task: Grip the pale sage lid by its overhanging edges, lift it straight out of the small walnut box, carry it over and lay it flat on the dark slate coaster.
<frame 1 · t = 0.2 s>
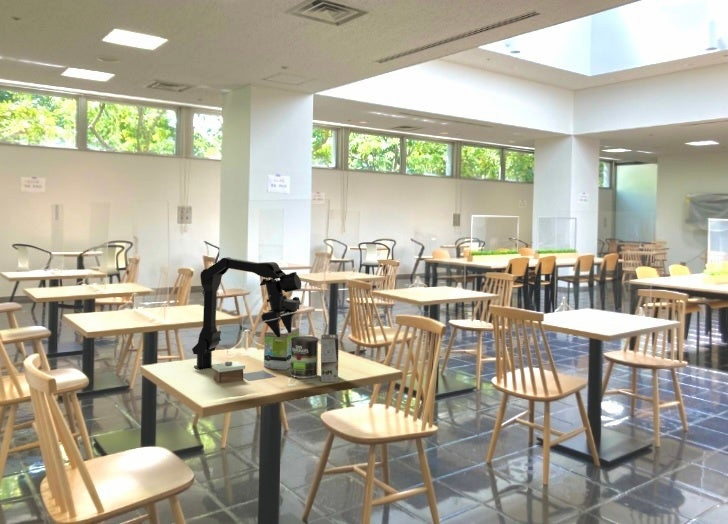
hand: (284, 334, 225), 15 cm above the table, tool pointing down, fingers open, 9 cm apart
coffee can: (304, 375, 226), on the table
box: (228, 381, 215), on the table
coffee box: (329, 379, 221), on the table
tea box: (281, 365, 242), on the table
lid: (228, 371, 215), point 4 cm above the table, touching box
coaster: (256, 377, 222), on the table
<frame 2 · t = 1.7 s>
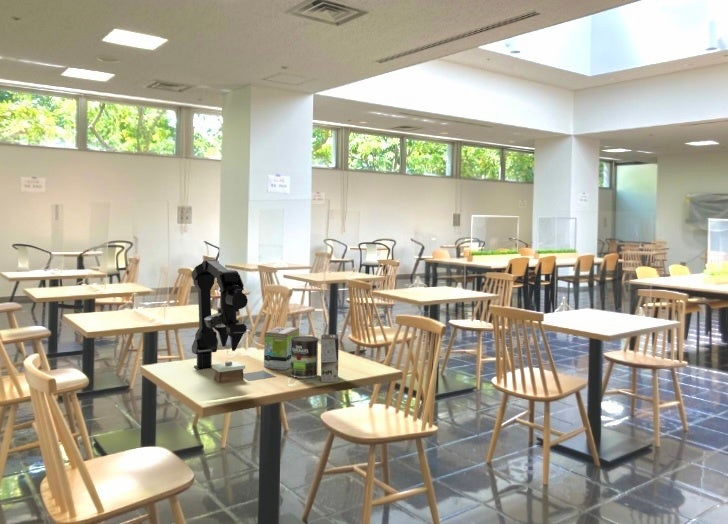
hand: (228, 348, 215), 12 cm above the table, tool pointing down, fingers open, 9 cm apart
nothing on the table moved.
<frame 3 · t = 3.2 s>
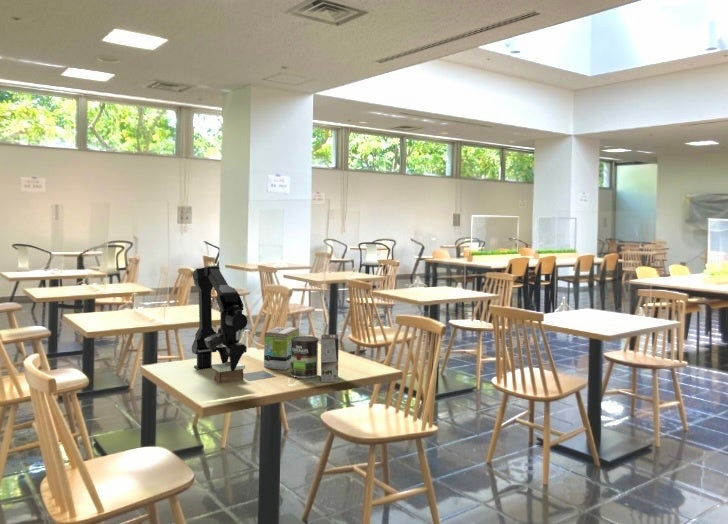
hand: (228, 368, 215), 5 cm above the table, tool pointing down, fingers closed on lid, 7 cm apart
lid: (228, 371, 215), point 4 cm above the table, touching box, gripper
everything else where it was.
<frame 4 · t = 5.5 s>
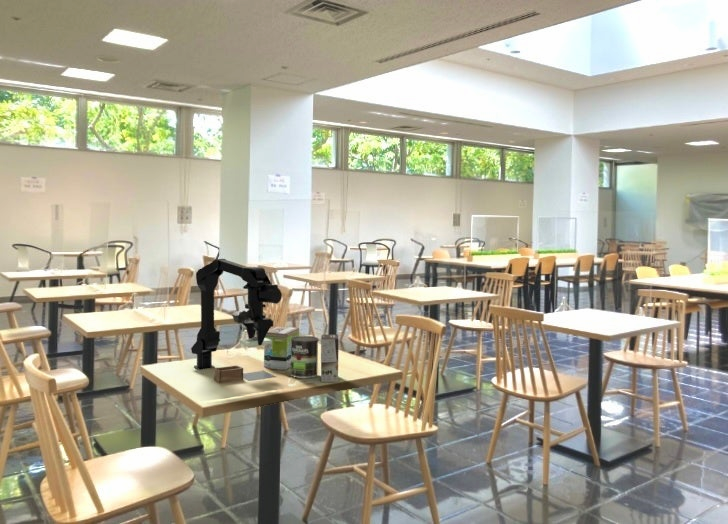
hand: (255, 343, 220), 13 cm above the table, tool pointing down, fingers closed on lid, 7 cm apart
lid: (255, 345, 220), point 12 cm above the table, touching gripper
everything else where it was.
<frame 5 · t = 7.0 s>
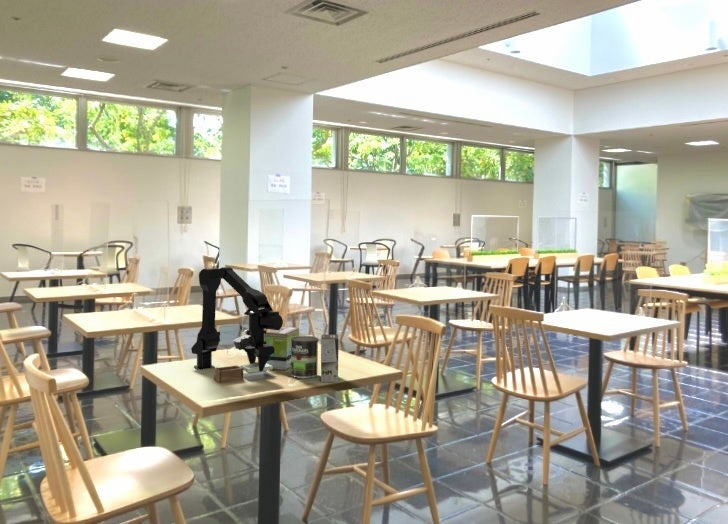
hand: (256, 369, 221), 3 cm above the table, tool pointing down, fingers closed on lid, 7 cm apart
lid: (256, 371, 221), point 2 cm above the table, touching gripper
everything else where it was.
when the fingers open (3 cm above the table, at t = 8.1 s): lid stays where it is, resting on coaster.
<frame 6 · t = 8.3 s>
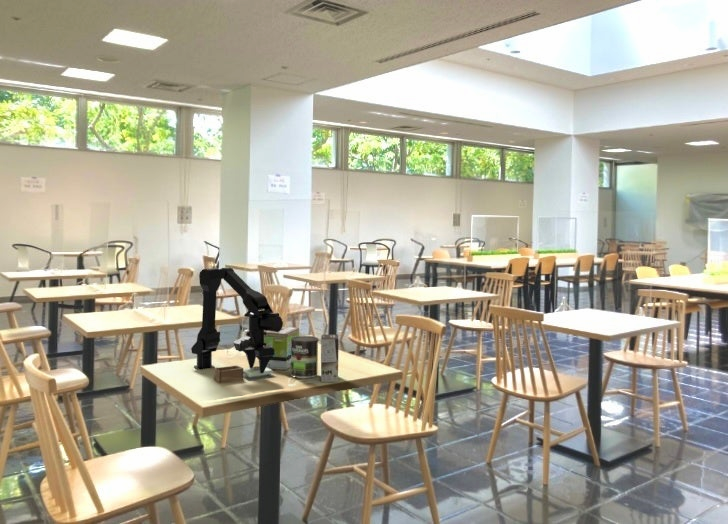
hand: (256, 370, 221), 3 cm above the table, tool pointing down, fingers open, 9 cm apart
lid: (256, 375, 221), point 1 cm above the table, touching coaster
everything else where it was.
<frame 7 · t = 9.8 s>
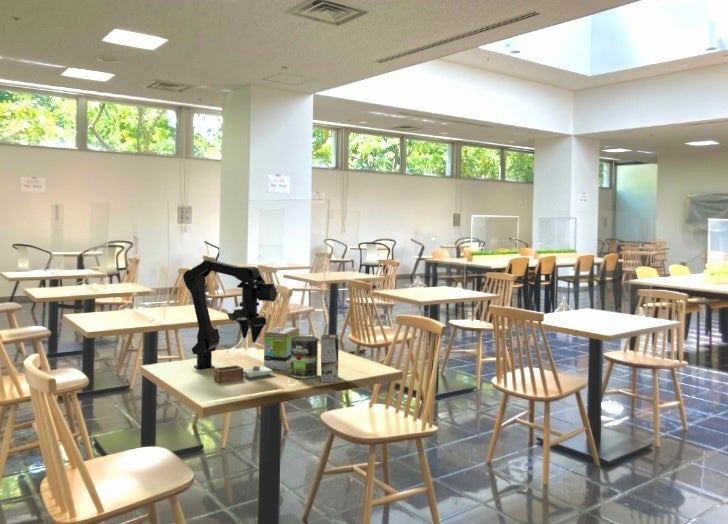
hand: (249, 340, 228), 13 cm above the table, tool pointing down, fingers open, 9 cm apart
nothing on the table moved.
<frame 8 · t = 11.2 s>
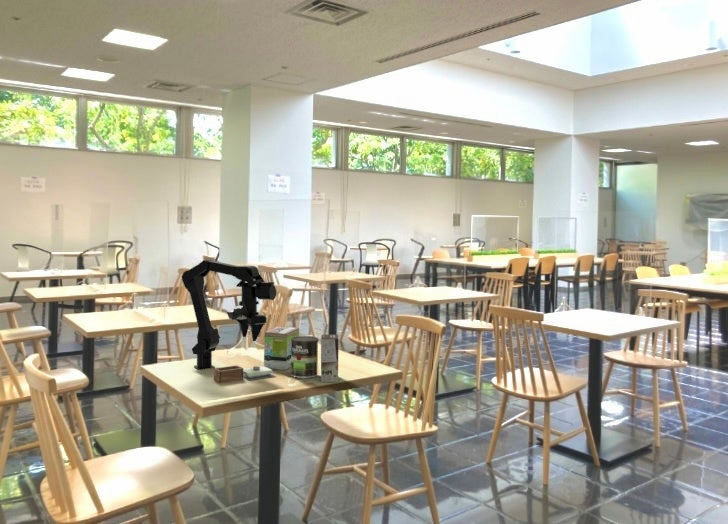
hand: (249, 339, 229), 13 cm above the table, tool pointing down, fingers open, 9 cm apart
nothing on the table moved.
at the end: lid inside the target area on the coaster (0.1 cm from its centre), point 0.8 cm above the coaster's base; lid tilted 0°; lid touching coaster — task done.
